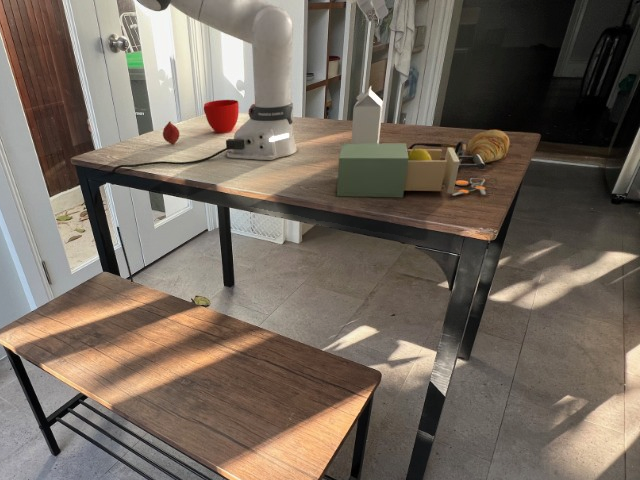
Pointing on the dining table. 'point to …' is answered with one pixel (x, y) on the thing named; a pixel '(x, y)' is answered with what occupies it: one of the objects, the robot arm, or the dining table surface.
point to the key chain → (474, 185)
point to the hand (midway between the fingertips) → (378, 18)
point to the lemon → (419, 155)
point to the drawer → (436, 171)
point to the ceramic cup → (222, 115)
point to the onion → (171, 133)
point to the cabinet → (372, 170)
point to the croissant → (489, 145)
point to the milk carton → (367, 118)
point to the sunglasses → (459, 147)
